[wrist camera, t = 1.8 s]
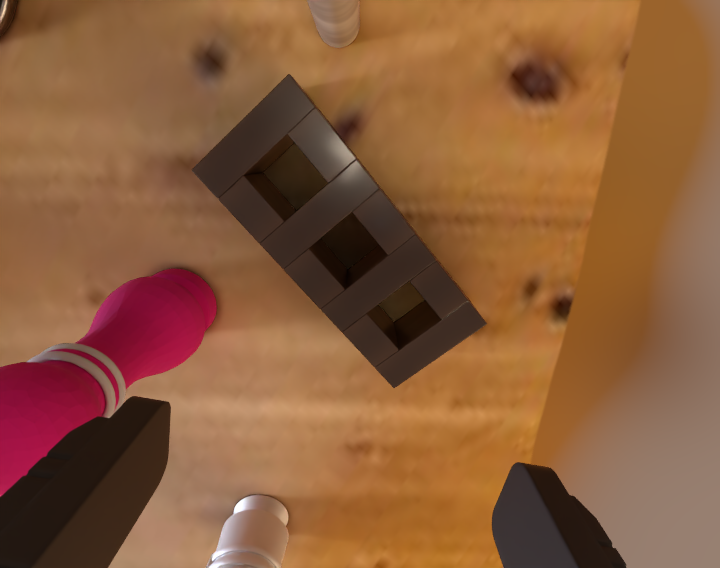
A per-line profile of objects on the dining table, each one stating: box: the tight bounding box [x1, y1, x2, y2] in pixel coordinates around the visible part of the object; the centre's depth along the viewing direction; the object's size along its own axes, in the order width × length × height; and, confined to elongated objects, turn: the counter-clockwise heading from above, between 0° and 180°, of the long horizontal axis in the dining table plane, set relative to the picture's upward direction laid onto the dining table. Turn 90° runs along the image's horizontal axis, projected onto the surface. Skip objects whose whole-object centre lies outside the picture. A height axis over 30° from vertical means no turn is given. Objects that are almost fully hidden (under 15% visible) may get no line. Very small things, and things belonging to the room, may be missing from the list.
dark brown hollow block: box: [192, 74, 487, 388], centre depth 28 cm, size 21×9×5 cm, turn 40°
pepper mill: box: [0, 269, 217, 497], centre depth 23 cm, size 7×7×20 cm
